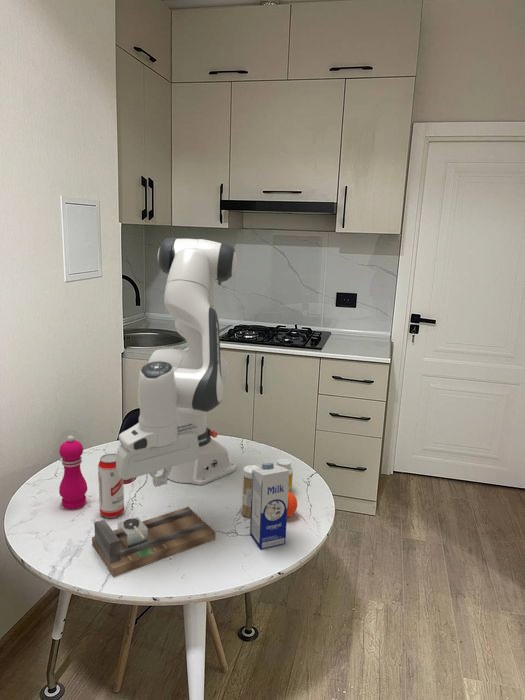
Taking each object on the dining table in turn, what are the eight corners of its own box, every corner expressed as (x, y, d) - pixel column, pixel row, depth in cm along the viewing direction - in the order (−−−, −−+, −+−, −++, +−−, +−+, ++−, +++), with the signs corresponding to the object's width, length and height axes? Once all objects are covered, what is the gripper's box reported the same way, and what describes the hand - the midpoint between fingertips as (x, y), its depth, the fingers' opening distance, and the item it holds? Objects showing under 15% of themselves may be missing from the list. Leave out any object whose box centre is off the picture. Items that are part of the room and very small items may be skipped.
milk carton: (259, 549, 127) (262, 474, 123) (249, 534, 133) (251, 462, 129) (286, 543, 130) (290, 469, 125) (274, 529, 136) (278, 457, 131)
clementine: (299, 524, 139) (300, 500, 137) (272, 525, 138) (274, 500, 136) (294, 508, 146) (296, 485, 145) (270, 508, 146) (271, 485, 144)
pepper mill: (79, 512, 140) (75, 442, 136) (54, 508, 142) (50, 439, 137) (93, 499, 147) (90, 432, 143) (69, 495, 149) (65, 429, 144)
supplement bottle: (275, 496, 152) (276, 466, 150) (271, 487, 158) (273, 457, 155) (293, 495, 153) (295, 465, 151) (289, 486, 159) (290, 457, 156)
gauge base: (188, 513, 142) (188, 489, 140) (215, 539, 131) (215, 513, 129) (92, 544, 127) (91, 518, 125) (113, 576, 116) (112, 548, 114)
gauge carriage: (138, 531, 129) (137, 515, 128) (153, 550, 122) (153, 533, 121) (118, 537, 126) (117, 521, 125) (133, 557, 119) (132, 540, 118)
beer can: (128, 509, 143) (127, 455, 139) (115, 521, 137) (113, 465, 133) (109, 505, 145) (107, 451, 141) (94, 516, 139) (92, 460, 135)
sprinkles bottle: (242, 509, 145) (243, 464, 142) (258, 509, 145) (260, 464, 142) (241, 518, 141) (242, 471, 138) (258, 518, 141) (260, 472, 138)
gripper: (191, 417, 131) (192, 467, 135) (111, 436, 120) (114, 490, 124) (204, 426, 127) (204, 478, 130) (122, 447, 115) (125, 503, 119)
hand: (160, 484), depth 127 cm, fingers closed
